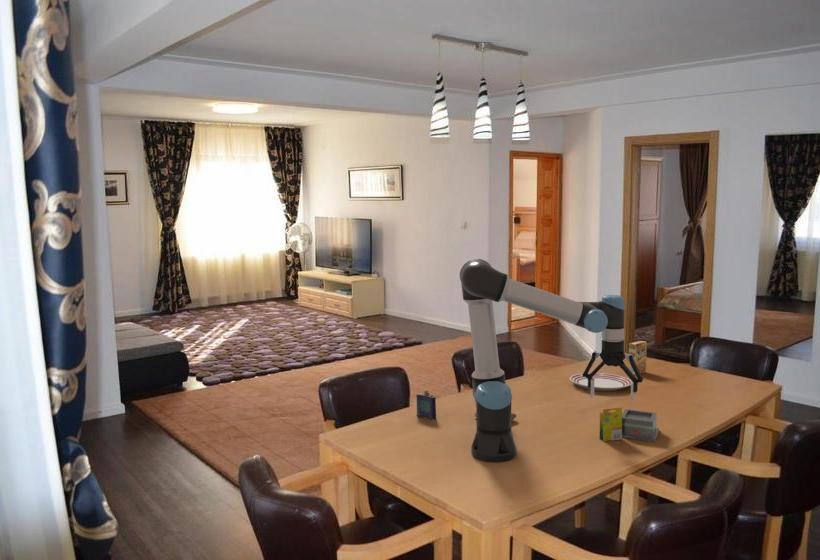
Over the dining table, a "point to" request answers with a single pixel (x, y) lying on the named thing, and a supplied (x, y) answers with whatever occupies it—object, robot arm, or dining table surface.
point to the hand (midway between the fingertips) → (612, 398)
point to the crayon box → (611, 424)
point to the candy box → (638, 355)
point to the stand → (639, 425)
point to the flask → (426, 405)
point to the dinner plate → (602, 381)
